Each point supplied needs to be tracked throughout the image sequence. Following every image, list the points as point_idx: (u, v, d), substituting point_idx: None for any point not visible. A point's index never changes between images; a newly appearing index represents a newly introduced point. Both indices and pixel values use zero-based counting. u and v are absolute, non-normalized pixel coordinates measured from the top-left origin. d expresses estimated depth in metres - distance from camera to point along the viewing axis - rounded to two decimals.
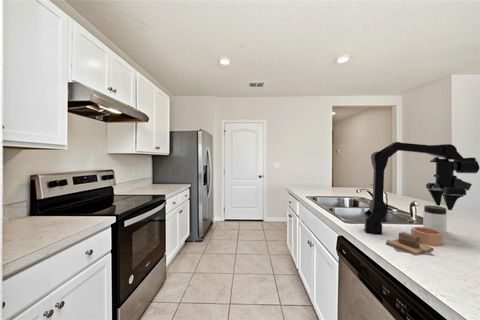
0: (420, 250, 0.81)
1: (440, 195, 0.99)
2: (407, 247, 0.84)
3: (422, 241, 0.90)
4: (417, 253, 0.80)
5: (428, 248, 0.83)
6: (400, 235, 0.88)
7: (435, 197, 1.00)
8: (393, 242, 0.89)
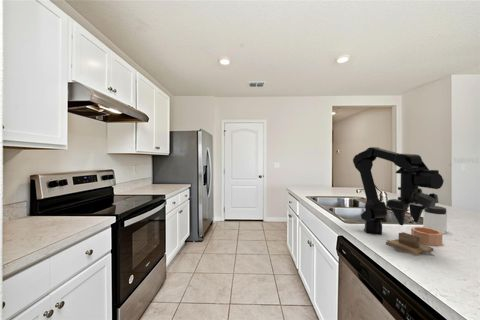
0: (420, 250, 0.81)
1: (419, 212, 0.87)
2: (407, 247, 0.84)
3: (422, 241, 0.90)
4: (417, 253, 0.80)
5: (428, 248, 0.83)
6: (400, 235, 0.88)
7: (413, 212, 0.89)
8: (393, 242, 0.89)
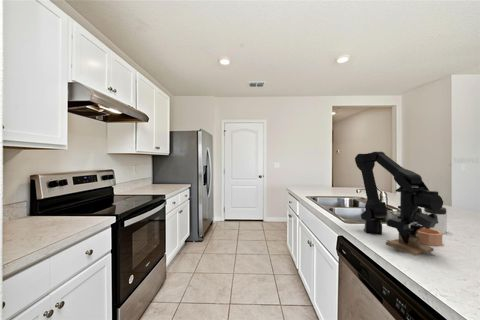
0: (420, 250, 0.81)
1: (415, 232, 0.86)
2: (407, 247, 0.84)
3: (422, 241, 0.90)
4: (417, 253, 0.80)
5: (428, 248, 0.83)
6: None
7: None
8: (393, 242, 0.89)
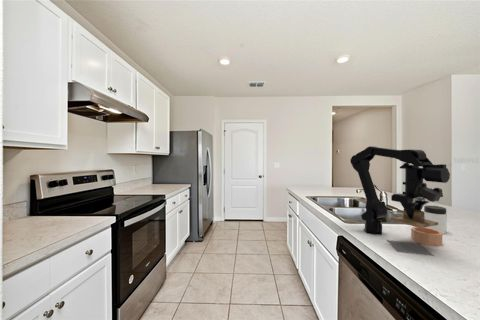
0: (425, 223, 0.82)
1: (419, 207, 0.87)
2: (412, 221, 0.85)
3: (422, 241, 0.90)
4: (421, 226, 0.81)
5: (433, 222, 0.84)
6: (405, 211, 0.89)
7: (413, 207, 0.89)
8: (397, 217, 0.90)
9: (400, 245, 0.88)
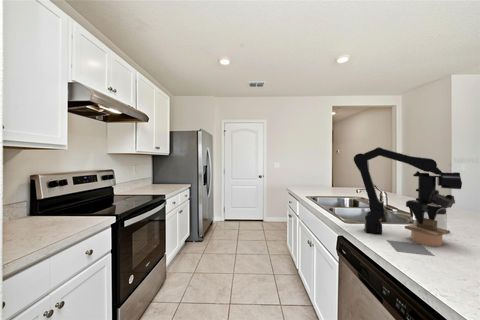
0: (438, 232, 0.87)
1: (435, 212, 0.93)
2: (425, 230, 0.90)
3: (422, 241, 0.90)
4: (435, 235, 0.86)
5: (445, 230, 0.89)
6: None
7: (429, 212, 0.95)
8: (411, 226, 0.95)
9: (400, 245, 0.88)
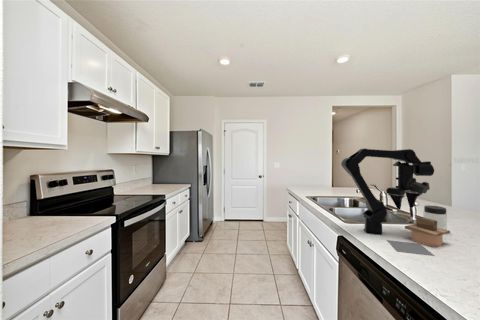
0: (438, 232, 0.87)
1: (414, 198, 1.02)
2: (425, 230, 0.90)
3: (422, 241, 0.90)
4: (435, 235, 0.86)
5: (445, 230, 0.89)
6: (418, 219, 0.94)
7: (409, 199, 1.04)
8: (411, 226, 0.95)
9: (400, 245, 0.88)
